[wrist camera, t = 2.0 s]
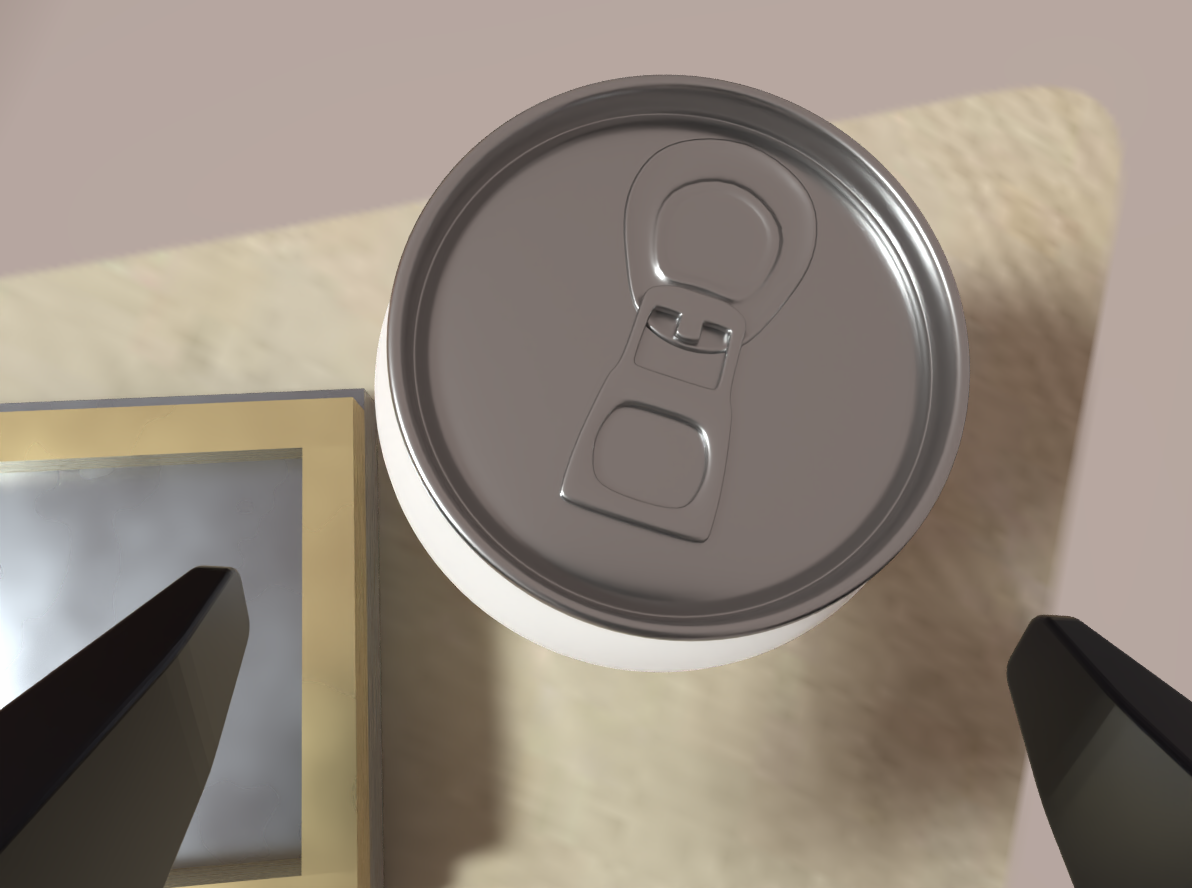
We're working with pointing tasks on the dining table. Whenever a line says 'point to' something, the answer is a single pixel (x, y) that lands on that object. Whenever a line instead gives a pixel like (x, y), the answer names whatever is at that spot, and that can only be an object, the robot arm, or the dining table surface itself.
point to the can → (669, 372)
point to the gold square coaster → (271, 588)
